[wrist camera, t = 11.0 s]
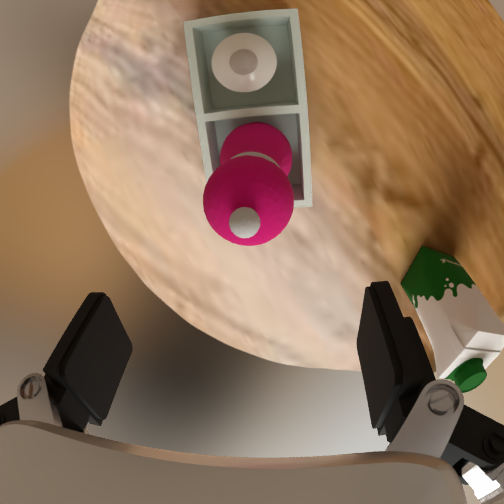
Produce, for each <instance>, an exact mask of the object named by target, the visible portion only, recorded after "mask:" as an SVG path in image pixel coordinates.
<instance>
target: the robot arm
mask: <svg viewBox="0 0 504 504" xmlns="http://www.w3.org/2000/svg"><path fill="white" fill-rule="evenodd" d="M357 351H358V355H359V360H360V365H361V370H362V374H363V379H364V385H365V390H366V395H367V401H368V407H369V412H370V418H371V424H372V427H373V428H377V430H378V435H379V436H380V435H385V434H386V436H387V441H388V442H390V444H389V446H388V447H387V449H386V451H381V452H367V453H353V454H342V455H332V456H331V455H330V456H316V457H315V456H314V457H289V458H248V457H227V456H226V457H225V456H211V455H201V454H191V453H183V452H175V451H168V450H161V449H155V448H149V447H143V446H137V445H132V444H127V443H122V442H118V441H113V440H109V439H105V438H101V437H96V436H93V435H90V434H89V432H88V429H87V426H86V425H87V423H88V422H89V423H90V424H94V425H98V426H101V424H102V421H103V420H104V419H106V417H107V415H108V412H109V409H110V406H111V404H112V401H113V399H114V396H115V393H116V391H117V388H118V386H119V383H120V380H121V378H122V375H123V373H124V370H125V368H126V365H127V362H128V360H129V358H130V355H131V353H132V343H131V341H130V339H129V337H128V335H127V333H126V331H125V329H124V327H123V325H122V323H121V321H120V319H119V317H118V315H117V313H116V311H115V308H114V306H113V304H112V302H111V300H110V298H109V297H108V296H106V294H105V293H102V292H97V293H96V292H92V293H89V295H88V296H87V297H86V299H85V300H84V302H83V303H82V305H81V307H80V308H79V310H78V311H77V313H76V314H75V316H74V318H73V319H72V321H71V322H70V324H69V326H68V327H67V329H66V331H65V332H64V334H63V335H62V337H61V339H60V341H59V342H58V344H57V346H56V348H55V349H54V351H53V353H52V354H51V356H50V358H49V360H48V362H47V363H46V365H45V367H44V369H43V371H44V372H45V376H44V377H43V376H42V375H41V374H39V373H32V374H29V375H27V376H26V377H25V378H24V379H23V380H22V381H21V382H20V384H19V386H18V389H17V397H15V398H14V399H12V400H10V401H8V402H6V403H5V404H3V405H1V406H0V504H467V501H466V497H465V493H464V490H463V486H462V484H465V485H470V486H471V487H472V488H473V489H474V490H475V491H476V492H475V493H474V494H475V495H476V496H477V498H478V499H479V501H480V502H481V504H504V425H502V424H500V423H498V422H496V421H494V420H492V419H491V418H489V417H487V416H484V415H483V414H481V413H479V412H477V411H475V410H473V409H471V408H470V407H467V406H466V405H464V397H463V394H462V392H461V390H460V389H459V387H458V386H457V385H456V384H454V383H452V382H451V381H447V380H436V379H435V376H434V373H433V371H432V368H431V365H430V362H429V360H428V357H427V354H426V352H425V349H424V346H423V344H422V341H421V339H420V336H419V334H418V331H417V329H416V326H415V324H414V322H413V320H412V318H411V317H403V315H402V312H401V310H400V308H399V305H398V303H397V300H396V298H395V296H394V293H393V291H392V289H391V286H390V284H389V282H388V281H381V282H372V283H371V285H370V287H366V288H365V294H364V301H363V308H362V314H361V320H360V326H359V331H358V337H357ZM461 483H462V484H461Z"/></svg>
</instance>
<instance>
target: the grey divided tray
mask: <svg viewBox="0 0 504 504" xmlns="http://www.w3.org/2000/svg"><path fill="white" fill-rule="evenodd" d="M183 24H184V32H185V40H186V48H187V56H188V63H189V71H190V78H191V85H192V92H193V99H194V106H195V113H196V120H197V126H198V133H199V139H200V146H201V152H202V158H203V164H204V170H205V177H206V183H207V181H208V179H209V177H210V176H211V175H212V173H213V172H214V171H215V169H216V168H218V167H219V166H220V152H221V148H222V145H223V142H224V141H225V139H226V137H227V136H228V135H229V133H231V132H232V131H233V130H234V129H235V128H237V127H239V126H241V125H243V124H247V123H251V122H264V123H268V124H270V125H272V126H274V127H275V128H277V129H278V130H279V131H281V132H282V133H283V134H284V135H285V137H286V138H287V140H288V141H289V144H290V146H291V150H292V166H291V170H290V172H289V174H288V176H287V177H288V179H289V181H290V183H291V186H292V189H293V193H294V207H293V208H296V207H312V182H311V158H310V139H309V123H308V108H307V95H306V83H305V72H304V61H303V51H302V42H301V33H300V25H299V16H298V9H276V10H262V11H251V12H242V13H234V14H226V15H219V16H213V17H207V18H201V19H196V20H191V21H186V22H183ZM238 33H251V34H255V35H258V36H260V37H262V38H263V39H265V40H266V41H267V42H268V43H269V44H270V45H271V46H272V48H273V49H274V51H275V54H276V59H277V66H276V70H275V73H274V75H273V77H272V78H271V80H270V81H269V82H268V83H267V84H266V85H265V86H263V87H261V88H260V89H257V90H255V91H251V92H237V91H233V90H230V89H228V88H226V87H225V86H223V85H222V84H221V83H220V82H219V81H218V80H217V78H216V77H215V75H214V73H213V70H212V56H213V53H214V51H215V49H216V47H217V46H218V45H219V44H220V43H221V42H222V41H223V40H224V39H226V38H227V37H229V36H231V35H234V34H238Z"/></svg>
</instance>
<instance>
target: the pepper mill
mask: <svg viewBox="0 0 504 504" xmlns="http://www.w3.org/2000/svg"><path fill="white" fill-rule="evenodd" d="M291 166H292V150H291V146H290V144H289V141H288V140H287V138H286V137H285V135H284V134H283V133H282V132H281V131H279V130H278V129H277V128H275V127H274V126H272V125H270V124H268V123H264V122H251V123H247V124H243V125H241V126H239V127H237V128H235V129H234V130H233V131H232V132H231V133H229V135H228V136H227V137H226V139H225V141H224V142H223V145H222V148H221V152H220V166H219V167H218V168H216V169H215V171H214V172H213V173H212V175H211V176H210V177H209V179H208V181H207V184H206V186H205V190H204V194H203V206H204V212H205V215H206V218H207V220H208V222H209V224H210V226H211V227H212V228H213V229H214V230H215V231H216V232H217V233H218V234H219V235H220V236H221V237H223V238H224V239H226V240H228V241H230V242H232V243H235V244H239V245H246V246H253V245H259V244H263V243H266V242H268V241H270V240H271V239H273V238H275V237H276V236H277V235H278V234H280V233H281V232H282V230H283V229H284V228H285V227H286V226H287V224H288V222H289V220H290V218H291V215H292V212H293V207H294V193H293V189H292V186H291V183H290V181H289V179H288V177H287V176H288V174H289V172H290V170H291Z"/></svg>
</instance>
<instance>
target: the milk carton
mask: <svg viewBox="0 0 504 504" xmlns="http://www.w3.org/2000/svg"><path fill="white" fill-rule="evenodd" d="M401 286H402V287H403V289H404V291H405V292H406V294H407V296H408V297H409V299H410V301H411V302H412V304H413V306H414V308H415V310H416V312H417V314H418V316H419V318H420V320H421V322H422V325H423V327H424V329H425V331H426V333H427V336H428V338H429V340H430V343H431V345H432V347H433V350H434V356H435V362H436V368H437V375H438V378H445V379H451V380H452V381H455V384H456V385H457V386H458V387H459V389H460V390H461V392H462V393H465V392H469V391H471V390H473V389H475V388H476V387H477V386H479V385H480V384H481V383H482V382H483V381H484V380H485V378H486V376H487V373H486V371H485V369H486V368H487V367H488V366H489V364H490V363H491V362H492V361H493V360H494V359H495V358H496V357H497V356H498V355H499V354H500V352H501V350H502V348H503V347H504V324H503V323H502V321H501V320H500V318H499V317H498V316H497V314H496V313H495V312H494V310H493V309H492V307H491V306H490V304H489V303H488V301H487V300H486V298H485V297H484V296H483V294H482V293H481V291H480V290H479V288H478V287H477V286H476V284H475V283H474V282H473V280H472V279H471V277H470V276H469V275H468V273H467V272H466V271H465V270H464V268H463V267H462V266H461V265H460V263H459V262H458V261H457V260H456V259H455V258H454V257H453V256H450V255H447V254H444V253H441V252H439V251H436V250H433V249H430V248H427V247H424V246H422V247H421V249H420V251H419V252H418V254H417V256H416V258H415V260H414V262H413V263H412V265H411V267H410V269H409V270H408V272H407V274H406V276H405V277H404V279H403V281H402V282H401Z"/></svg>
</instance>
